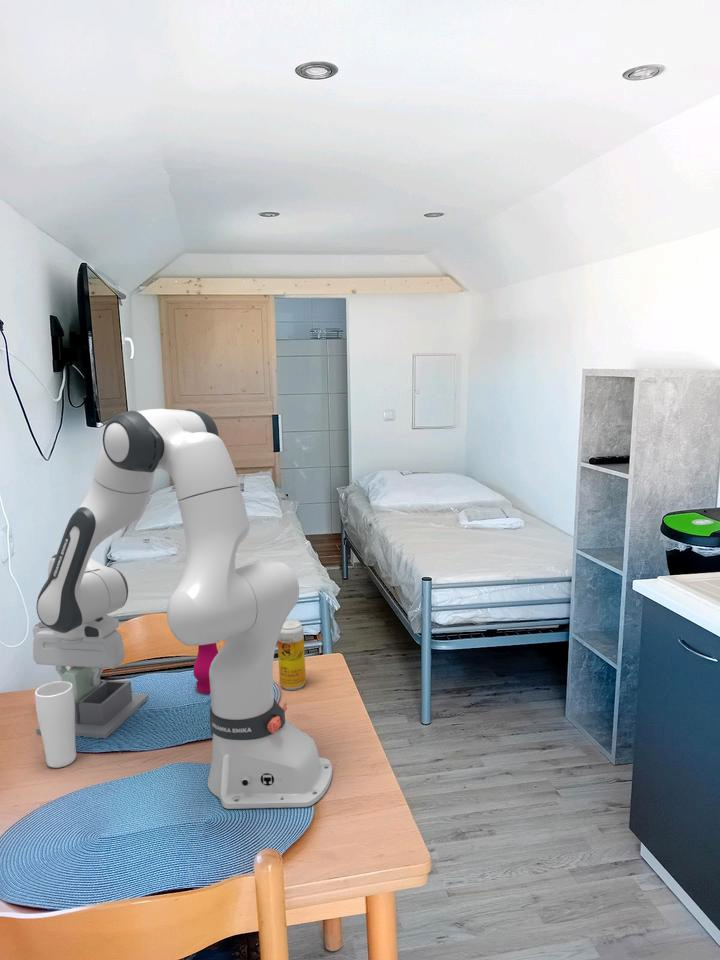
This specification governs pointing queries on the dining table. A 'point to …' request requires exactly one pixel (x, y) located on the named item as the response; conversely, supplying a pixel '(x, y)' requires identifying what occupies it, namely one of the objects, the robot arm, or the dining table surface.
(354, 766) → the dining table surface
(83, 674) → the rectangular block
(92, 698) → the dish rack
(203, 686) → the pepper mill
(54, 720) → the drinking glass
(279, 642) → the beer can
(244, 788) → the robot arm
